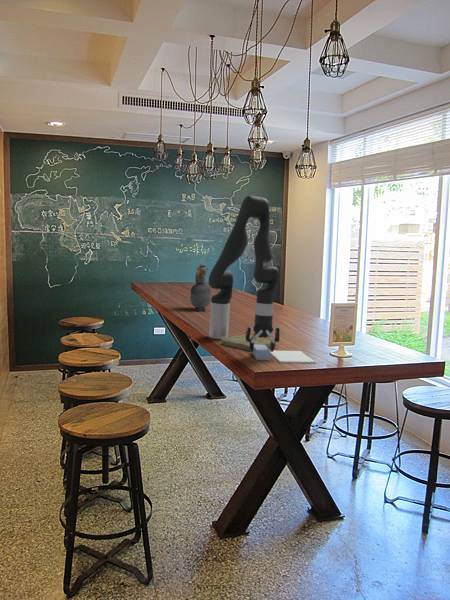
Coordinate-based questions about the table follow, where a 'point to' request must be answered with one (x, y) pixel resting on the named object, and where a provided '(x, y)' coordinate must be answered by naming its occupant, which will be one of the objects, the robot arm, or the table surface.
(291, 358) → the mat
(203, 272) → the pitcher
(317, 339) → the table surface
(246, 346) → the decorative tile
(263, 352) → the block
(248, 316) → the table surface
